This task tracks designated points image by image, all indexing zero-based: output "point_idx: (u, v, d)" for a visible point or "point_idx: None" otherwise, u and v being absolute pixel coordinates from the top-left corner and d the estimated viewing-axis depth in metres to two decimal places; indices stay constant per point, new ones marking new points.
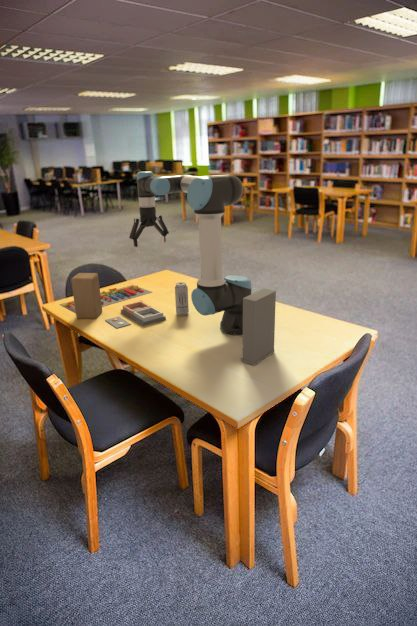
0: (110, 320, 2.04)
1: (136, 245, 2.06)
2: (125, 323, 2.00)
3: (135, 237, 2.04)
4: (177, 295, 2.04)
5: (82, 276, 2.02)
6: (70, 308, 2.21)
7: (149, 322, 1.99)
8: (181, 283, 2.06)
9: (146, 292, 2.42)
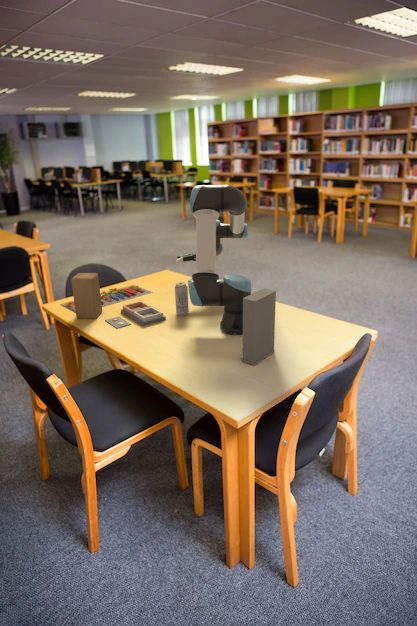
0: (110, 320, 2.04)
1: (178, 259, 2.17)
2: (125, 323, 2.00)
3: (181, 257, 2.20)
4: (177, 295, 2.04)
5: (82, 276, 2.02)
6: (70, 308, 2.21)
7: (149, 322, 1.99)
8: (181, 283, 2.06)
9: (146, 292, 2.42)
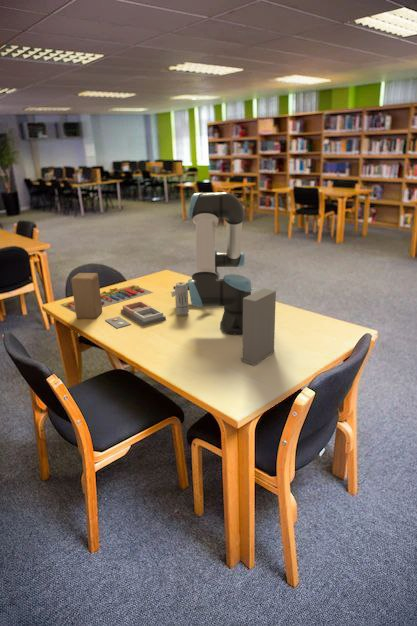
0: (110, 320, 2.04)
1: (174, 290, 2.17)
2: (125, 323, 2.00)
3: None
4: (177, 295, 2.04)
5: (82, 276, 2.02)
6: (71, 308, 2.21)
7: (149, 322, 1.99)
8: (181, 283, 2.06)
9: (147, 292, 2.41)
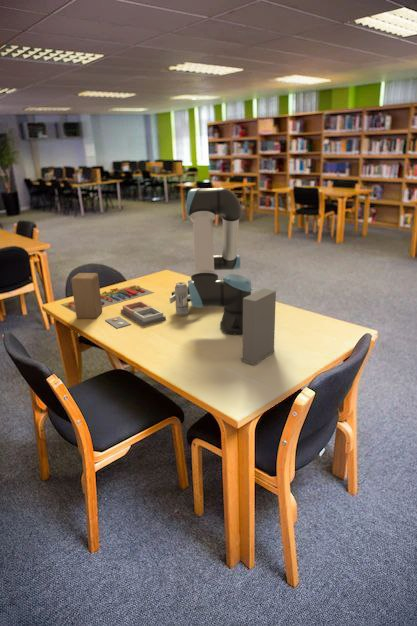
0: (110, 320, 2.04)
1: (172, 296, 2.08)
2: (125, 323, 2.00)
3: None
4: (177, 295, 2.04)
5: (82, 276, 2.02)
6: (71, 308, 2.21)
7: (149, 322, 1.99)
8: (181, 283, 2.06)
9: (147, 292, 2.41)
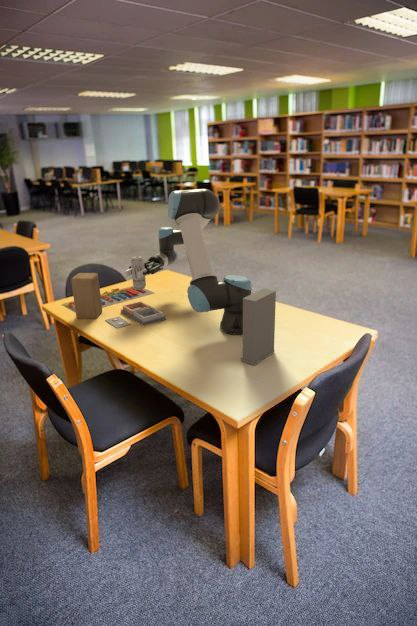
0: (110, 320, 2.04)
1: None
2: (125, 323, 2.00)
3: None
4: (133, 268, 2.04)
5: (82, 276, 2.02)
6: (71, 308, 2.21)
7: (149, 322, 1.99)
8: (137, 256, 2.05)
9: (148, 293, 2.40)
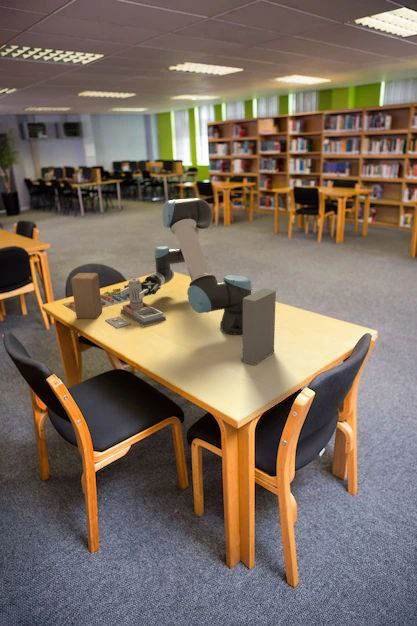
0: (110, 320, 2.04)
1: None
2: (125, 323, 2.00)
3: (127, 286, 2.14)
4: (130, 291, 2.07)
5: (82, 276, 2.02)
6: (72, 308, 2.21)
7: (149, 322, 1.99)
8: (134, 279, 2.08)
9: None
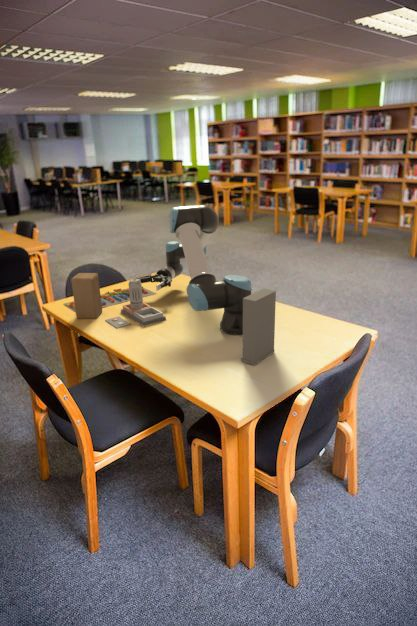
0: (110, 320, 2.04)
1: None
2: (125, 323, 2.00)
3: (139, 278, 2.26)
4: (130, 291, 2.07)
5: (82, 276, 2.02)
6: (72, 308, 2.21)
7: (149, 322, 1.99)
8: (135, 279, 2.08)
9: (150, 293, 2.39)
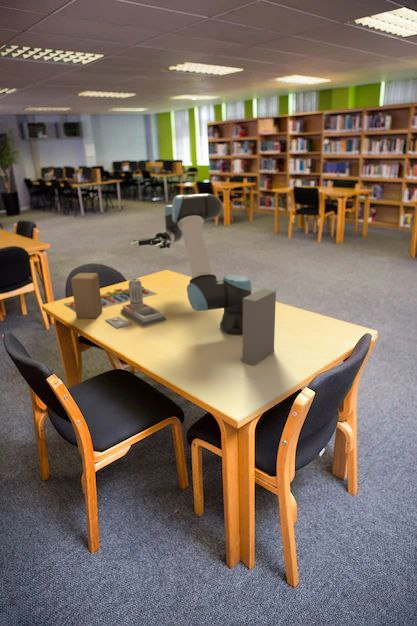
0: (110, 320, 2.04)
1: None
2: (125, 323, 2.00)
3: (137, 241, 2.20)
4: (130, 291, 2.07)
5: (82, 276, 2.02)
6: (73, 308, 2.21)
7: (149, 322, 1.99)
8: (135, 279, 2.08)
9: (151, 293, 2.39)
